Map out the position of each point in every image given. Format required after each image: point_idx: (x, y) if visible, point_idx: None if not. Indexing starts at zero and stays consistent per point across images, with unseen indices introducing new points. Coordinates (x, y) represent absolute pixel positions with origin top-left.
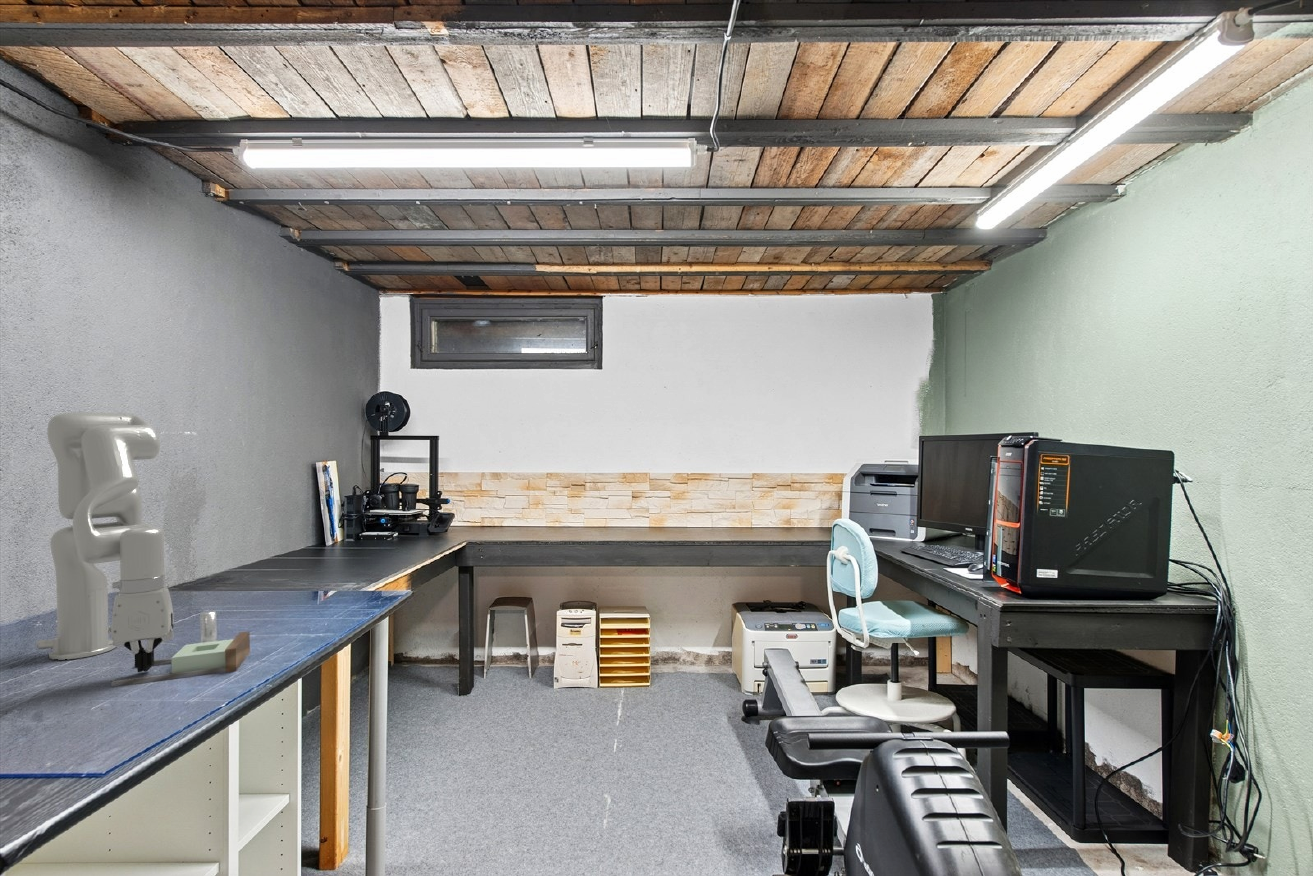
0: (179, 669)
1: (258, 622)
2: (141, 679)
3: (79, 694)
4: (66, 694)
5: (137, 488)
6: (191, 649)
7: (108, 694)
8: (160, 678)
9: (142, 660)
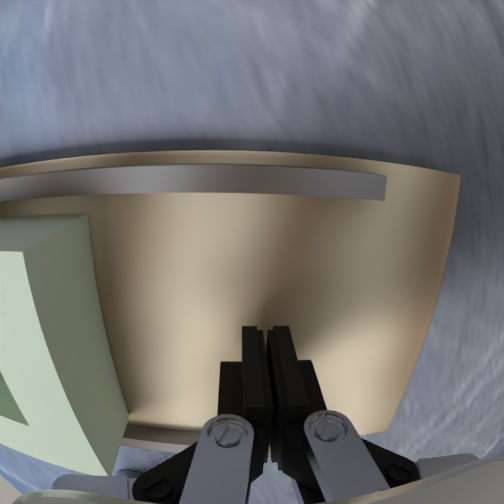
0: (38, 225)
1: None
2: (223, 165)
3: (467, 234)
4: (494, 259)
5: None
6: (16, 389)
7: (371, 159)
8: (121, 166)
9: (272, 381)
